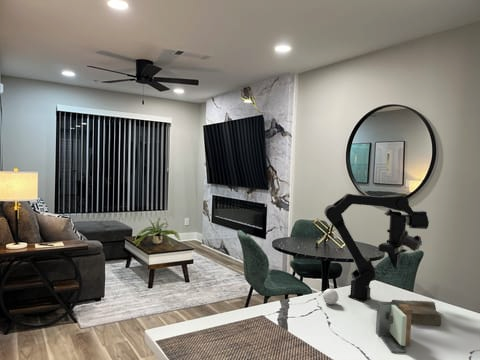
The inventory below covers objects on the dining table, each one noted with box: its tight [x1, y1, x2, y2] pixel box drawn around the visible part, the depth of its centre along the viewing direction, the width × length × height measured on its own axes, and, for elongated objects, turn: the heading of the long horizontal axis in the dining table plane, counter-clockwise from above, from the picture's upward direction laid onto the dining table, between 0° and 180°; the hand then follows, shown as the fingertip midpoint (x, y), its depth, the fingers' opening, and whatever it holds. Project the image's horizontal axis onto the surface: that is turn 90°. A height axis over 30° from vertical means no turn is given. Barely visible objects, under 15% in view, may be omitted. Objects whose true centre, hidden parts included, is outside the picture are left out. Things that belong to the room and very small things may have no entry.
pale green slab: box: [389, 305, 407, 347], centre depth 104 cm, size 8×2×8 cm, turn 179°
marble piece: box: [390, 299, 443, 327], centre depth 125 cm, size 17×15×4 cm
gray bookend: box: [375, 300, 407, 354], centre depth 105 cm, size 12×8×10 cm
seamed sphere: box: [322, 288, 340, 305], centre depth 132 cm, size 8×6×6 cm
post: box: [399, 304, 413, 348], centre depth 105 cm, size 4×2×11 cm, turn 178°
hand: (395, 267), depth 138 cm, fingers closed
